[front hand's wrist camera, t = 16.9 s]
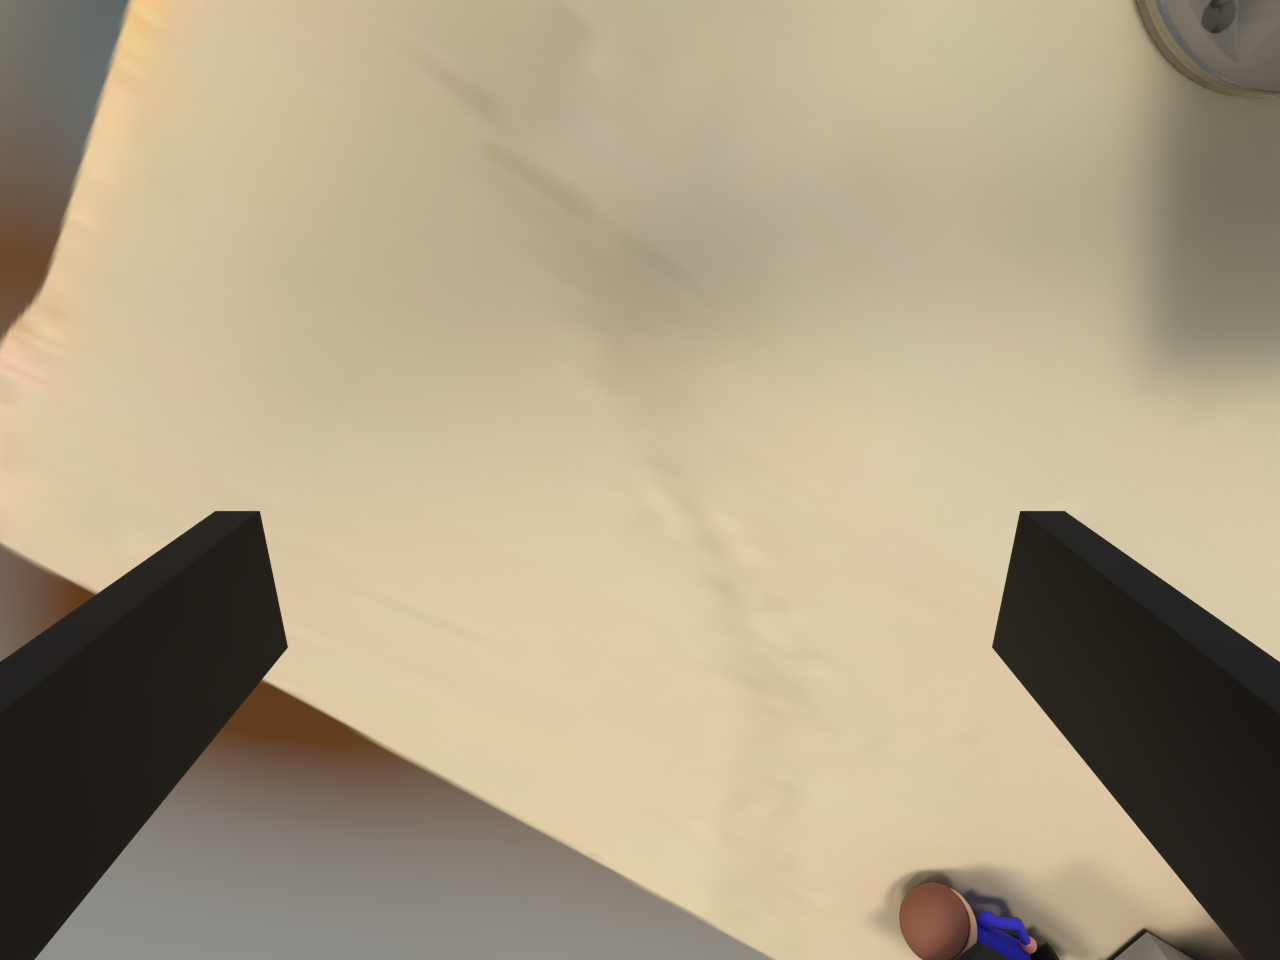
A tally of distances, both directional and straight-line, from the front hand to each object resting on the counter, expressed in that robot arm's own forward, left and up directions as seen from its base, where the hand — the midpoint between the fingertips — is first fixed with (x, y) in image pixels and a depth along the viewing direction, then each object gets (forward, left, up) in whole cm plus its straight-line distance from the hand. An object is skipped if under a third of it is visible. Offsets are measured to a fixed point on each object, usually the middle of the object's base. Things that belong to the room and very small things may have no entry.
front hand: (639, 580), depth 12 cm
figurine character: (+23, -44, -26) cm, 56 cm away
